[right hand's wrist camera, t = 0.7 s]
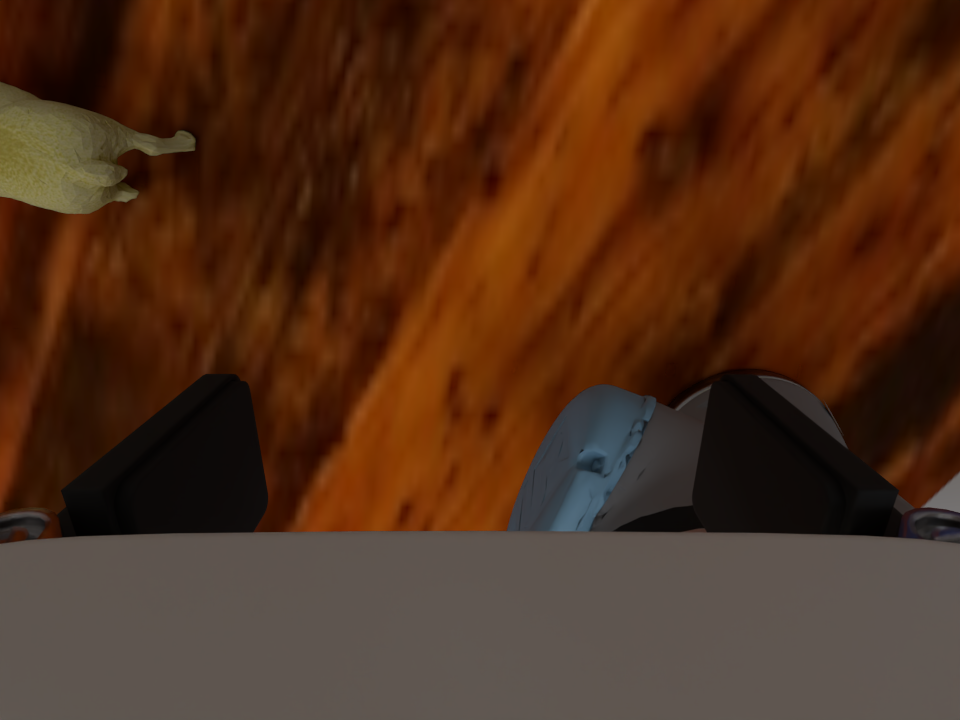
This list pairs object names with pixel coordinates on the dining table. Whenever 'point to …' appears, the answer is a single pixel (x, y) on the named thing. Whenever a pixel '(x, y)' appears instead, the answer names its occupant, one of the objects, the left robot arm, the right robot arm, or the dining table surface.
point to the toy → (68, 153)
